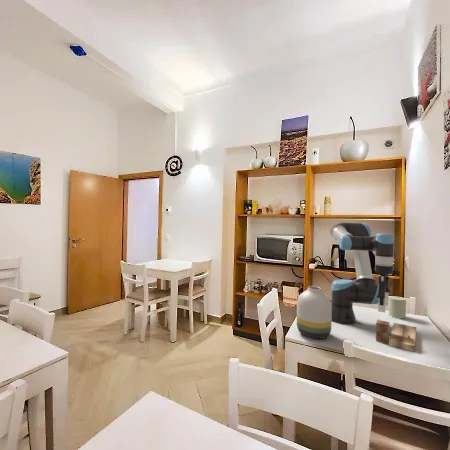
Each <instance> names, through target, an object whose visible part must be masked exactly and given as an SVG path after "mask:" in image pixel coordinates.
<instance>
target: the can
mask: <svg viewBox="0 0 450 450" xmlns="http://www.w3.org/2000/svg"><path fill="white" fill-rule="evenodd" d="M406 308H407V299H406V298H405V297H401V296H396V295H394V296H393V295H391V296H389V295H388V314H387V315H388V317H390V316H392V317H395V318H394V319H396V318H407V316H406V315H407V313H406V312H407V311H406V310H407V309H406ZM392 317H391V318H392Z"/></svg>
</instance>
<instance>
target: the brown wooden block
mask: <svg viewBox="0 0 450 450" xmlns="http://www.w3.org/2000/svg"><path fill="white" fill-rule="evenodd" d="M375 327H376V328H375V329H376V330H375V331H376V332H375V334H376V335H375V341H376V342H379V343H383V344H387V345H389V338H390V337H394V338H399V339H403V340H407V341H412V342H414V339H413V338H410V335H408V337H405V336H400V335H396V334H391V332H390V321H386V320H381V319H377V321H376V326H375Z"/></svg>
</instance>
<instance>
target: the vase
mask: <svg viewBox="0 0 450 450" xmlns="http://www.w3.org/2000/svg"><path fill="white" fill-rule="evenodd" d="M332 323H333V321H332V304H331V299H330V297H329V296H328V295H327V294H326V293H324V292H323V291H322V288H321V287H320V286H312V285H310V286H308V287H307V289H306V290H304V291H303V292H301V293H300V294H299V296H298V297H297V302H296V327H297V330H298V331H299V333H300V334H302V335H303V336H305V337H308V338H311V339H315V340H316V339H318V340H319V339H325V338H327V337H328V336H330V334H331V331H332Z"/></svg>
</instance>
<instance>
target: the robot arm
mask: <svg viewBox="0 0 450 450" xmlns="http://www.w3.org/2000/svg"><path fill="white" fill-rule="evenodd" d="M329 232H330V236H331V237H332V239H334V240H336V241H338V246H339V249H340V250H345V251H352V253H353V261H354V267H355V269H354V270H355V274H356V279H355V280H354V281H353V280H352V279H346V278H345V279H335V280H334V281H332V282H331V288H330V289H331V296H330V297H331V299H330V300H331V304H332V322H334V323H338V324H343V325H344V324H345V325H350V324H355V323H356V321H357V319H356V315H355V314H356V313H355V312H354V308H353V304H364V305H378V307H377V309H378V310H377V311H378V312H380V313H386V306H387V307H389V293H391V290H390V287H389V284H390V283H389V282H390V281H389V280H390V276H389V275H392V274H394V266H393V265H394V262H395V261H396V259H395V258H394V252H395V251H394V250H395V249H394V248H395V244H394V243H395V237H394V234H393V233H376V234H375V235H374V236H372V230H371V228H370V226H369V224H368V223H365V222H338V223H337V224H334V225H333V226H332V227H331V229H330V231H329ZM370 251H371V252H375V255H374V256H375V258H374V259H375V260H374V261H375V267H374V269H375V271H374V272H375V273H377V274H380V275H379V276H378V281H379V282H378V283H377V279H375V278H374V277H373V273H372V267H371V260H370V256H369V255H370V254H369V252H370Z"/></svg>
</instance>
